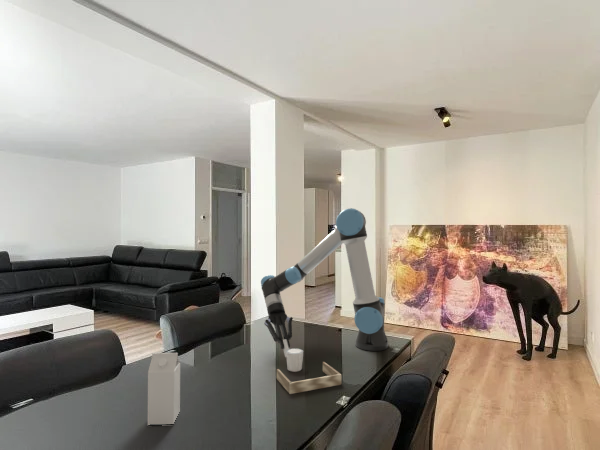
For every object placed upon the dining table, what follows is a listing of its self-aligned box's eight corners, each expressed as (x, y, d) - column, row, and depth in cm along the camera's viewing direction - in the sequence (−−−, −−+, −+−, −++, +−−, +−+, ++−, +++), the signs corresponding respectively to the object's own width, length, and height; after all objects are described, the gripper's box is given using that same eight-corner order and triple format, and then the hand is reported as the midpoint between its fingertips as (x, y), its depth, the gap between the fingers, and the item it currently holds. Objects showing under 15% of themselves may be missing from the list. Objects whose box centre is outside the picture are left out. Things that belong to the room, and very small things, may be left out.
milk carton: (155, 413, 108) (155, 349, 108) (180, 412, 108) (180, 348, 108) (147, 426, 101) (148, 357, 101) (173, 425, 101) (174, 357, 101)
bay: (324, 370, 141) (324, 361, 141) (341, 384, 128) (341, 374, 128) (276, 378, 133) (276, 369, 133) (289, 394, 121) (289, 383, 121)
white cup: (301, 372, 139) (301, 354, 139) (284, 371, 140) (284, 353, 140) (304, 366, 146) (304, 348, 146) (288, 364, 147) (288, 347, 147)
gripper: (286, 309, 169) (299, 357, 154) (259, 312, 164) (270, 361, 149) (290, 300, 164) (304, 349, 149) (262, 302, 159) (274, 353, 144)
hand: (287, 355), depth 149 cm, fingers closed
